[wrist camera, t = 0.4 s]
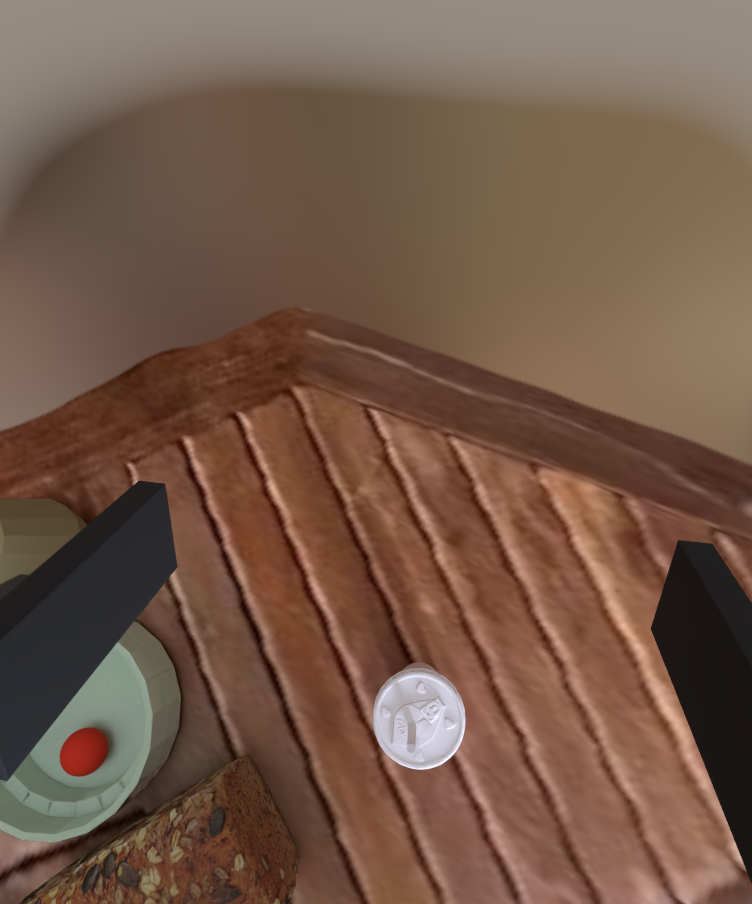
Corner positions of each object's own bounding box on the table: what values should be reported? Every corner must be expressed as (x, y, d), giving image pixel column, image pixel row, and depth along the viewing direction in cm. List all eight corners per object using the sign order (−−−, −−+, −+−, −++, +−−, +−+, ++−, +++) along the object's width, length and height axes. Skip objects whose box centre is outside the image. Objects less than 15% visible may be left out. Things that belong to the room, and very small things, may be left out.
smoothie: (366, 678, 48) (344, 732, 34) (423, 629, 48) (424, 663, 35) (415, 741, 47) (412, 823, 33) (473, 691, 47) (494, 752, 33)
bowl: (203, 776, 48) (172, 808, 42) (25, 828, 48) (-30, 867, 43) (161, 588, 51) (127, 594, 45) (-6, 640, 51) (-62, 652, 45)
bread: (249, 741, 48) (205, 792, 38) (311, 862, 46) (281, 948, 36) (61, 858, 48) (-32, 939, 38) (116, 984, 46) (33, 1105, 36)
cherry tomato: (120, 760, 48) (96, 777, 44) (81, 771, 48) (53, 789, 44) (112, 716, 49) (87, 730, 45) (73, 728, 49) (45, 742, 45)
